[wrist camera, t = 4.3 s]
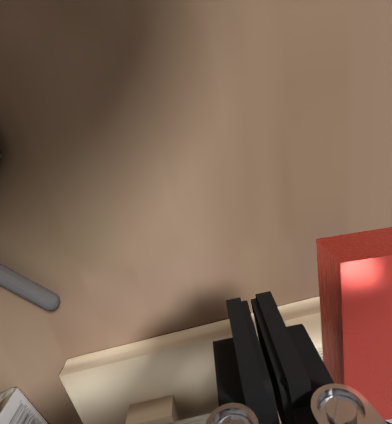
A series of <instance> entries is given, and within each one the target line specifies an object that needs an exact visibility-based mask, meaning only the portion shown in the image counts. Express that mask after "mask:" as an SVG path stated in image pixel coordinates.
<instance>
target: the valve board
mask: <svg viewBox="0 0 392 424" xmlns="http://www.w3.org/2000/svg"><path fill="white" fill-rule="evenodd" d="M278 309H279V312H280V314H281V316H282V318H283V321H284V323H285V325H286V327H287V326H292V325H297V324H303V326H304V327H305V329H306V331H307V333H308V334H309V336H310V338H311V340H312V342H313V344H314V346H315V348H317V347H322V332H321V314H320V296H319V297H315V298H311V299H307V300H303V301H299V302H295V303H291V304H287V305H283V306H278ZM251 316H252V319H253V323H254V326H255V329H256V324H255V319H254V314H253V313H251ZM256 333H257V329H256ZM257 336H258V333H257ZM232 337H233V336H232V330H231V325H230V320H229V319H226V320H222V321H218V322H214V323H210V324H206V325H202V326H198V327H194V328H190V329H186V330H182V331H178V332H174V333H170V334H166V335H162V336H158V337H154V338H150V339H146V340H142V341H138V342H134V343H130V344H126V345H122V346H118V347H114V348H110V349H106V350H102V351H98V352H94V353H90V354H86V355H82V356H78V357H73V358H69V359H67V361H66V363H65V365H64V367H63V369H62V371H61V373H60V375H59V377H60V379H61V381H62V383H63V385H64V387H65V389H66V391H67V393H68V395H69V397H70V399H71V401H72V403H73V405H74V407H75V409H76V411H77V413H78V414H79V416H80V418H81V420H82V422H83V424H165V423H170V422H174V421H178V420H183V419H187V418H191V417H196V416H200V415H204V414H209V413H212V412H213V411H214V410H215V409H216V408H218V407H219V403H218V393H217V382H216V372H215V362H214V352H213V341H218V340H223V339H228V338H232ZM258 339H259V338H258Z"/></svg>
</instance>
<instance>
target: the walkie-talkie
mask: <svg viewBox="0 0 392 424" xmlns="http://www.w3.org/2000/svg"><path fill="white" fill-rule="evenodd" d="M0 162H1V154H0ZM0 286H2V287H4V288H6V289H8V290H10V291H12V292H14V293H16V294H18V295H19V296H21V297H23V298H25V299H27V300H29V301H31V302H33V303H35V304H37V305H38V306H40V307H42V308H44V309H46V310H54V309H55V308H57V307H58V305H59V303H60V297H59V296H58V295H57V294H55V293H53V292H52V291H50V290H48V289H46V288H44V287H42V286H40V285H39V284H37V283H35V282H33V281H31V280H29V279H27V278H26V277H24V276H22V275H20V274H18V273H16V272H14V271H13V270H11V269H9V268H7V267H5V266H3V265H1V264H0Z"/></svg>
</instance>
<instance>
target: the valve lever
mask: <svg viewBox="0 0 392 424" xmlns="http://www.w3.org/2000/svg"><path fill="white" fill-rule="evenodd" d="M316 244H317V261H318V279H319V296H320V314H321V332H322V349H323V362H324V364H325V366H326V368H327V370H328V372H329V374H330V376H331V377H332V379H333V381H334V383H335V384H343V385H347V386H350V387H352V388H354V389H355V390H357V391H359V392H360V393H361V394H362V395H363V396H364V397H365V398H366V399H367V400H368V401H369V402H370V403H371V405H372V406H373V407H374V408H375V410H376V411H377V412H378V413H379V414H380V416H381V417H382V418H383V419H384V420H385V421H387V422H389V423H392V227H390V228H383V229H377V230H371V231H364V232H358V233H352V234H346V235H339V236H333V237H327V238H320V239H316Z"/></svg>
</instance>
